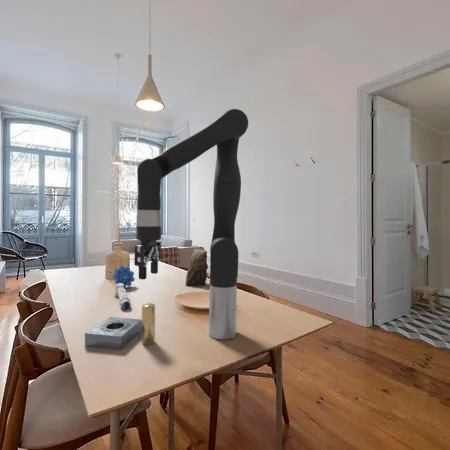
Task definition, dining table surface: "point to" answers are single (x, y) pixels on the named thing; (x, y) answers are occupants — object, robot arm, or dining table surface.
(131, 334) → the plate
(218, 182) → the robot arm
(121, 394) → the dining table surface
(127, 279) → the blue flower
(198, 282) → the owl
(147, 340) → the brass plug
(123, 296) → the white electric toothbrush
